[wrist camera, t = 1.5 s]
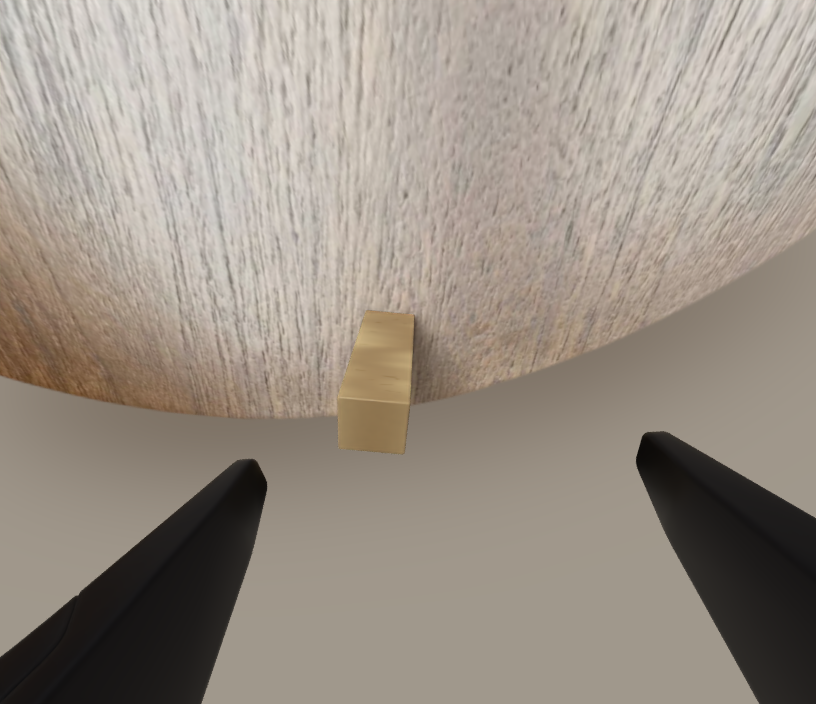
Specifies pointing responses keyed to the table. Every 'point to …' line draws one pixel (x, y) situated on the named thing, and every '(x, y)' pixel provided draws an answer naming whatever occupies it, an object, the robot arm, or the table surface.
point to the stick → (378, 385)
